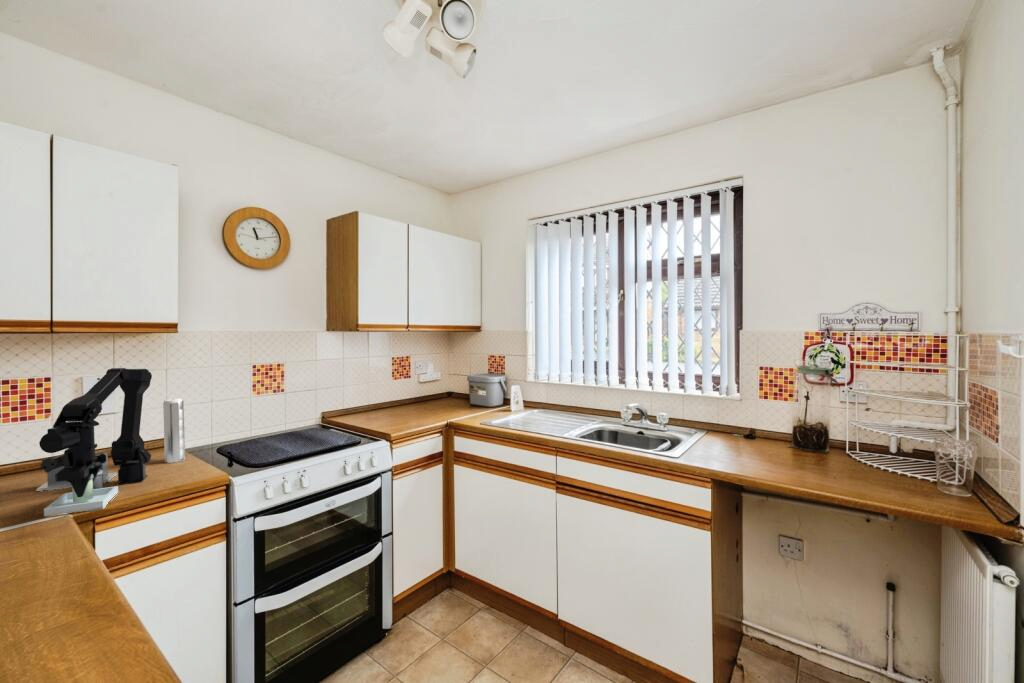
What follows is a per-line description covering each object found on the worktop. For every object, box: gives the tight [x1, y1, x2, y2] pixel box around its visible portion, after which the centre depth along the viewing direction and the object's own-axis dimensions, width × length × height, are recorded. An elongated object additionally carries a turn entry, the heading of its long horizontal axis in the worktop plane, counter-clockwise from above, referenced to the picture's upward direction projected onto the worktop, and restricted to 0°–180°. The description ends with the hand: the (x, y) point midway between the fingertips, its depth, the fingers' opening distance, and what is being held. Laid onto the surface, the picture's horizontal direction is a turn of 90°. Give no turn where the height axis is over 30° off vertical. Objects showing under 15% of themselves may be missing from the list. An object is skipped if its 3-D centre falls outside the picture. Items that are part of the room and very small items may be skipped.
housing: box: [36, 452, 118, 492], centre depth 151 cm, size 18×9×9 cm, turn 118°
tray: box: [43, 485, 119, 517], centre depth 132 cm, size 13×14×2 cm
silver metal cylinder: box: [162, 398, 186, 464], centre depth 176 cm, size 6×6×25 cm
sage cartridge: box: [71, 474, 93, 502], centre depth 132 cm, size 5×5×7 cm
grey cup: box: [93, 470, 103, 489], centre depth 141 cm, size 5×5×7 cm
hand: (83, 494), depth 132 cm, fingers closed on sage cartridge, 4 cm apart
